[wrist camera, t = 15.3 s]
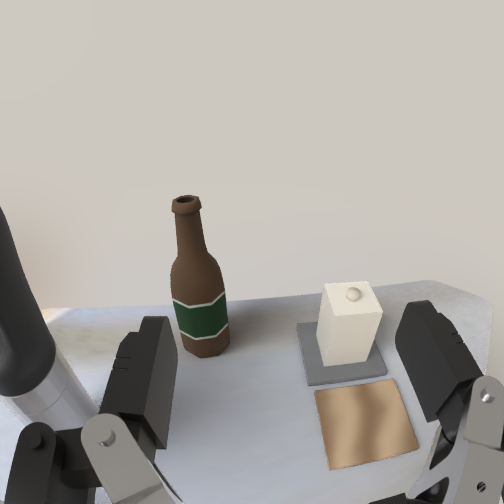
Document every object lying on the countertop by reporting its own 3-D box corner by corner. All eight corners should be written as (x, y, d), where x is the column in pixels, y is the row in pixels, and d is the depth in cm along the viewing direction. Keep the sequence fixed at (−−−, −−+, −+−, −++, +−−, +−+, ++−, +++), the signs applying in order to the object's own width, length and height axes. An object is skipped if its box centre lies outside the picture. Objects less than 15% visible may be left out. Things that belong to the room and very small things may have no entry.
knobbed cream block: (323, 366, 42) (336, 310, 37) (316, 334, 48) (324, 277, 42) (365, 361, 43) (384, 305, 37) (354, 330, 48) (368, 275, 42)
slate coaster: (308, 386, 41) (308, 382, 40) (296, 327, 51) (296, 323, 50) (385, 375, 41) (387, 371, 40) (363, 321, 51) (364, 317, 51)
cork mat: (329, 470, 29) (329, 469, 29) (314, 393, 39) (315, 390, 39) (417, 449, 30) (418, 447, 29) (392, 381, 40) (393, 378, 39)
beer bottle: (235, 327, 51) (225, 187, 38) (224, 363, 45) (207, 214, 32) (191, 321, 52) (168, 187, 40) (176, 355, 46) (141, 212, 33)
